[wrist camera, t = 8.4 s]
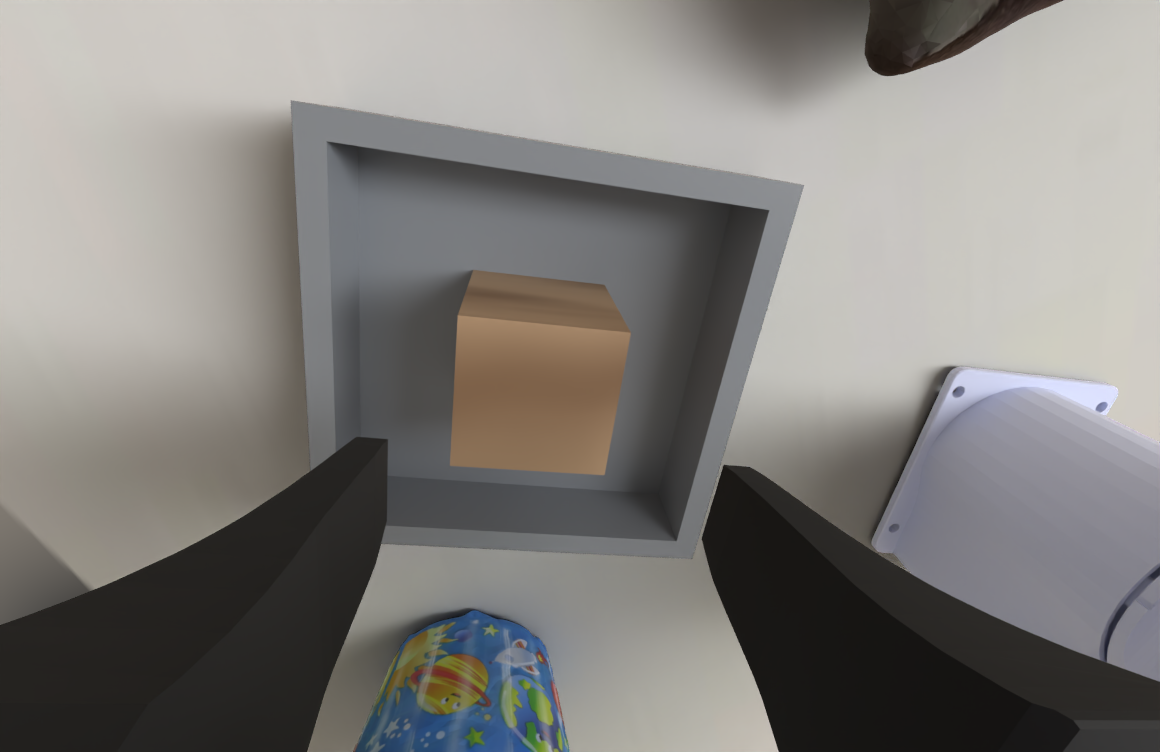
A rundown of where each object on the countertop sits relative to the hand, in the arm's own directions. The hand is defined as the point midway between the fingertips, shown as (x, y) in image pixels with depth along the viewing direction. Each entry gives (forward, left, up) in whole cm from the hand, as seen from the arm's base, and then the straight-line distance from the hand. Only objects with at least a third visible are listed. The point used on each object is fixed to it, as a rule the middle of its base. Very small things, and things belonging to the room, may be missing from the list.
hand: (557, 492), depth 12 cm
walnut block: (0, 0, -9) cm, 9 cm away
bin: (0, 0, -9) cm, 9 cm away
